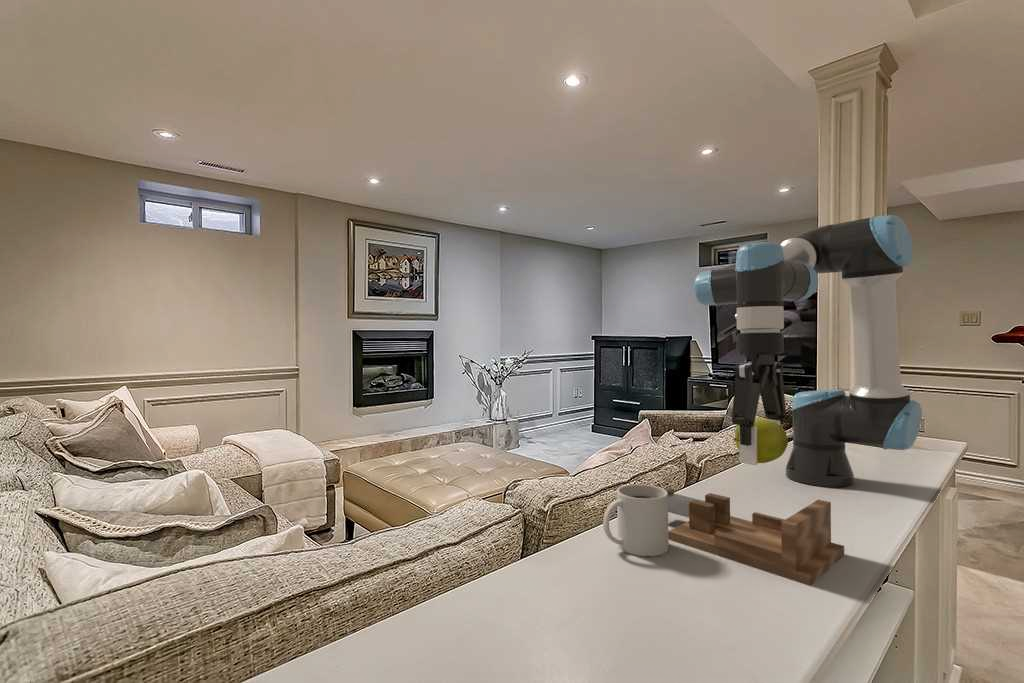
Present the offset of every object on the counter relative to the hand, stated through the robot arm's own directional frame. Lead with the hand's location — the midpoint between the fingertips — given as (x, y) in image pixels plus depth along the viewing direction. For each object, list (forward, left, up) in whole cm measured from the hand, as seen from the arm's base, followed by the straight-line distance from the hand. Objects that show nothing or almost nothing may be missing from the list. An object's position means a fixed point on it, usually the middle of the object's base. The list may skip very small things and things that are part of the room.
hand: (760, 459), depth 90 cm
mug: (+16, -15, -16) cm, 27 cm away
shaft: (+1, -14, -14) cm, 20 cm away
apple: (0, 0, -1) cm, 1 cm away
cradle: (+1, -1, -16) cm, 16 cm away
